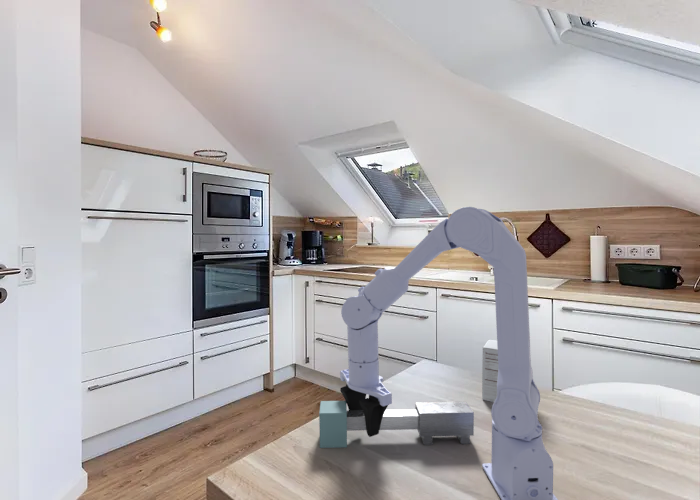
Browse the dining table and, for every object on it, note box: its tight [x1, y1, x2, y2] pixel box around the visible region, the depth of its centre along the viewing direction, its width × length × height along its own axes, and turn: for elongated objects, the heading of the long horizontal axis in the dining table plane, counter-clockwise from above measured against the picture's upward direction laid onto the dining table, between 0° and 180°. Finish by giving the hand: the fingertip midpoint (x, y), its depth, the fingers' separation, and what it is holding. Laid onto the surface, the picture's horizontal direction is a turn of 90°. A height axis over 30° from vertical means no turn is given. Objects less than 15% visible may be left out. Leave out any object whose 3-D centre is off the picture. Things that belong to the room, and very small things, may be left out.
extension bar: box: [347, 408, 419, 432], centre depth 73 cm, size 3×17×3 cm, turn 91°
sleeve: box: [414, 401, 475, 446], centre depth 74 cm, size 4×10×6 cm, turn 91°
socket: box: [318, 400, 348, 449], centre depth 73 cm, size 5×5×6 cm
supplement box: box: [481, 339, 498, 403], centre depth 91 cm, size 7×7×13 cm
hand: (365, 428), depth 73 cm, fingers closed on extension bar, 5 cm apart
